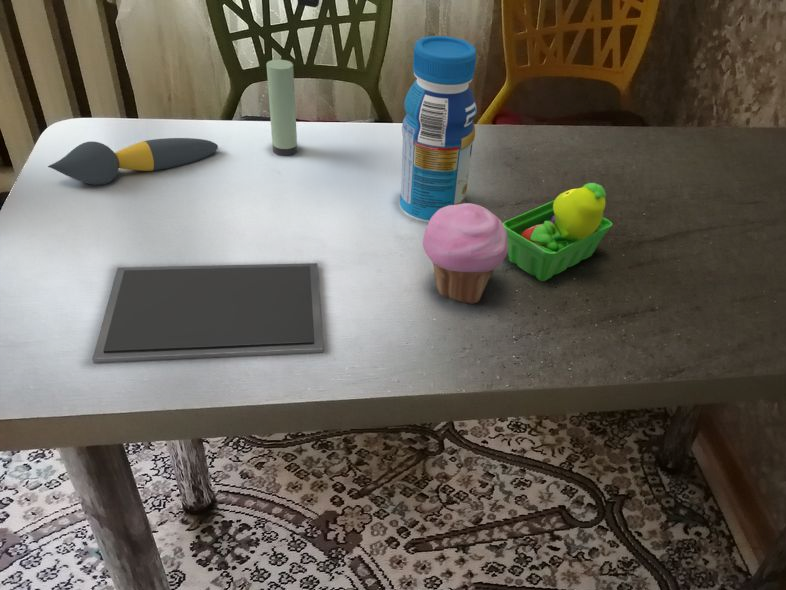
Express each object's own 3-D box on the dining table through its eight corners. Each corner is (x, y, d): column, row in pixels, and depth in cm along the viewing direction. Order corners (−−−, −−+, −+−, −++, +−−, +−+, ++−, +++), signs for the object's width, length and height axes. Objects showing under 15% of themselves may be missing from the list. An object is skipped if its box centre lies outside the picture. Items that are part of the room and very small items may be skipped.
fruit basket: (556, 230, 92) (575, 145, 84) (613, 264, 87) (638, 177, 80) (493, 261, 85) (506, 172, 78) (551, 299, 81) (571, 208, 73)
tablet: (94, 367, 66) (91, 357, 65) (119, 275, 76) (116, 265, 76) (323, 356, 70) (323, 347, 69) (317, 270, 80) (317, 261, 80)
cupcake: (493, 323, 77) (506, 241, 70) (411, 308, 77) (416, 225, 71) (504, 275, 83) (517, 196, 77) (429, 261, 84) (435, 182, 77)
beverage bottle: (384, 202, 93) (390, 37, 80) (438, 186, 97) (452, 27, 84) (424, 234, 88) (438, 65, 75) (479, 216, 92) (500, 53, 79)
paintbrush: (204, 144, 99) (199, 108, 96) (223, 159, 97) (219, 122, 93) (50, 184, 88) (38, 145, 85) (68, 202, 85) (56, 162, 82)
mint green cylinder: (278, 161, 98) (272, 70, 90) (269, 150, 100) (262, 60, 92) (301, 157, 99) (297, 67, 91) (291, 146, 101) (287, 58, 93)
